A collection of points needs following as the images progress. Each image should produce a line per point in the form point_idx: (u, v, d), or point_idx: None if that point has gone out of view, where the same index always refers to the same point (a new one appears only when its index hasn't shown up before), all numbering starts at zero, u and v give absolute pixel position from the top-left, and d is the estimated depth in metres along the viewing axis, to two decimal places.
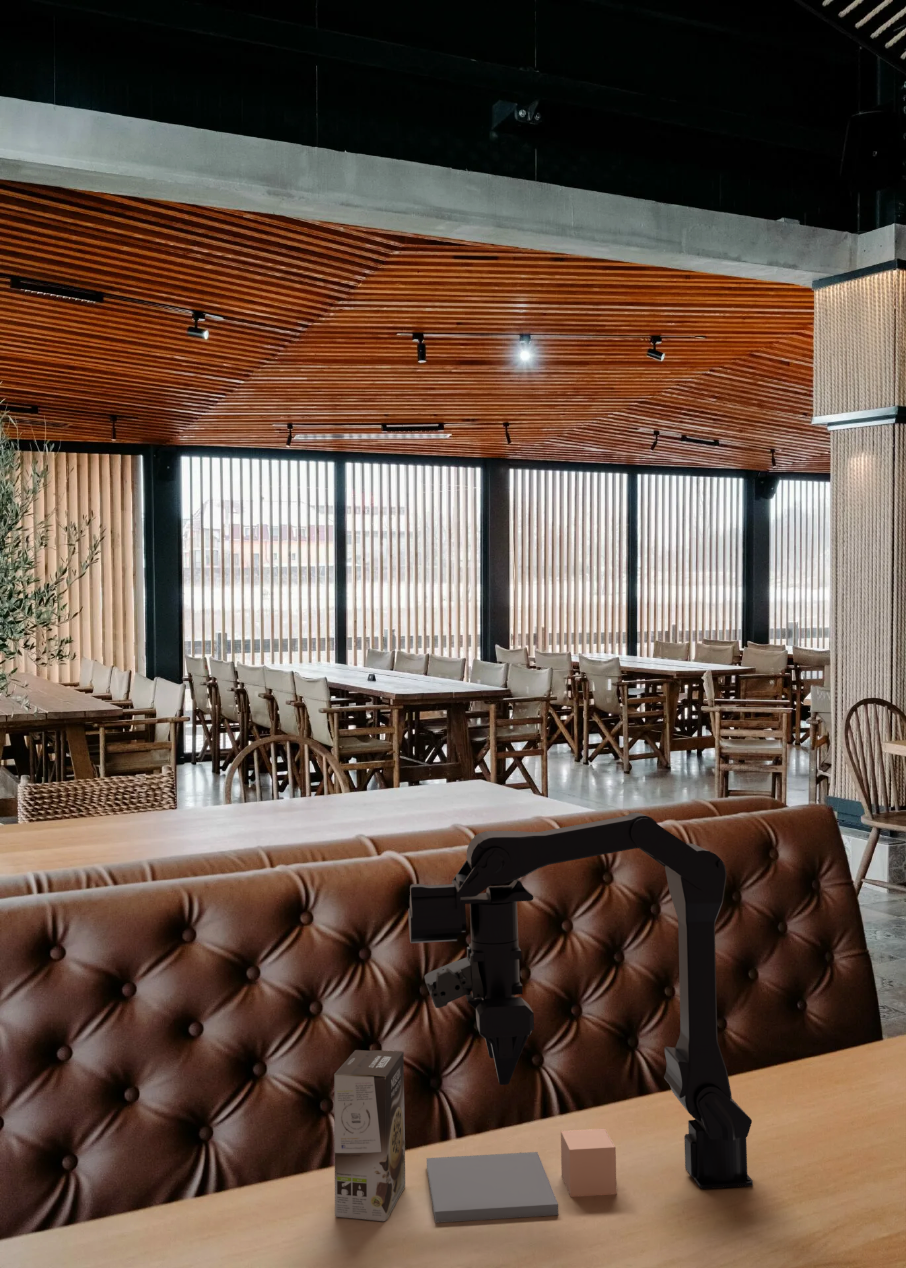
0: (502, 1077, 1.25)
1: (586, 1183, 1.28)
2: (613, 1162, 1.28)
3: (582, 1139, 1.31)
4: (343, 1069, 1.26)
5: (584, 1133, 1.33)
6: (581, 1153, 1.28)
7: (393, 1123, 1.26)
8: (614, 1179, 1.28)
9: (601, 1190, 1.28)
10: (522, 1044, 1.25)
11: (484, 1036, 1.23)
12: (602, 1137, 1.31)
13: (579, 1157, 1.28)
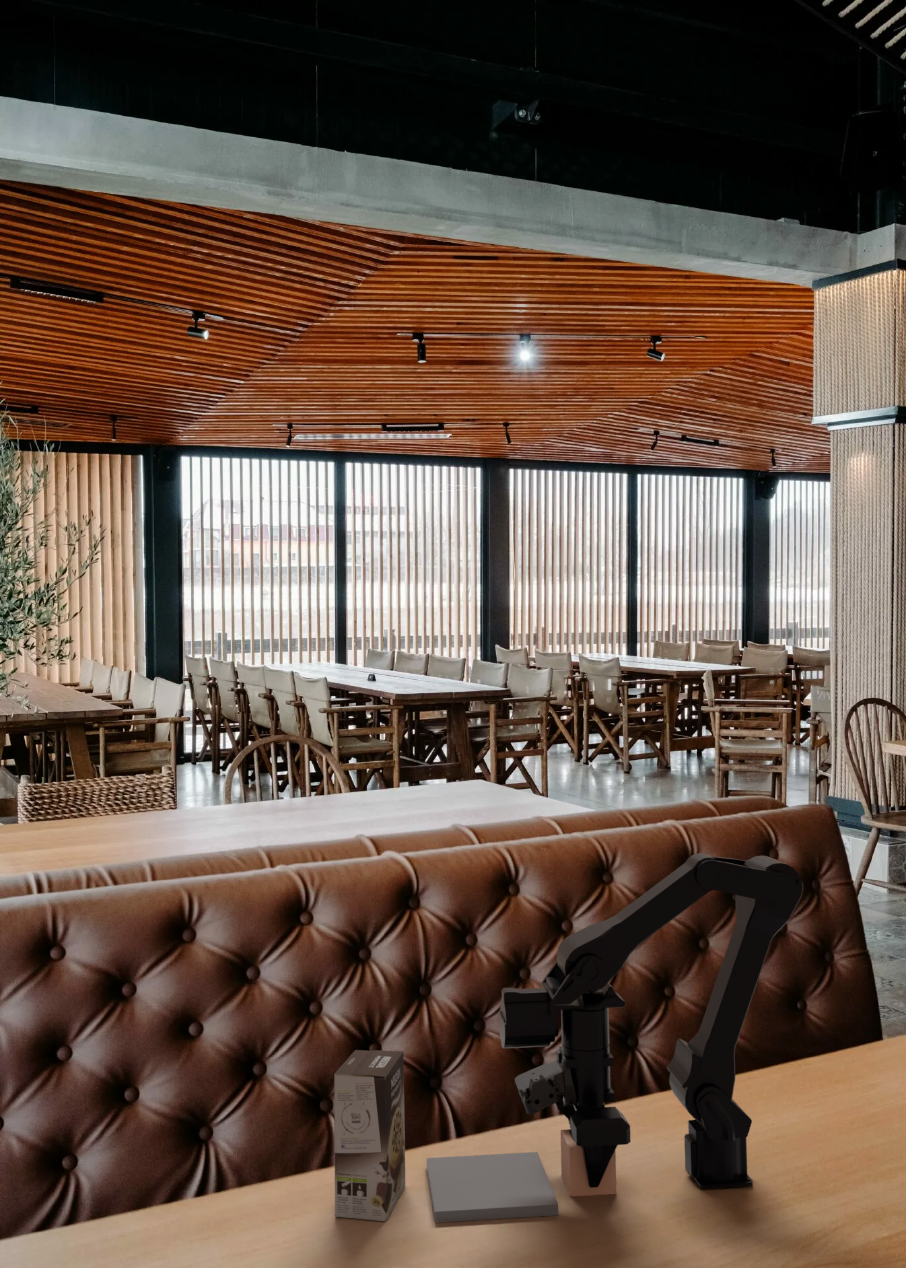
0: (592, 1180, 1.27)
1: (586, 1182, 1.28)
2: (613, 1161, 1.28)
3: None
4: (343, 1069, 1.26)
5: None
6: (581, 1152, 1.28)
7: (393, 1123, 1.26)
8: (614, 1178, 1.28)
9: (601, 1189, 1.28)
10: (613, 1148, 1.27)
11: None
12: None
13: (579, 1156, 1.28)
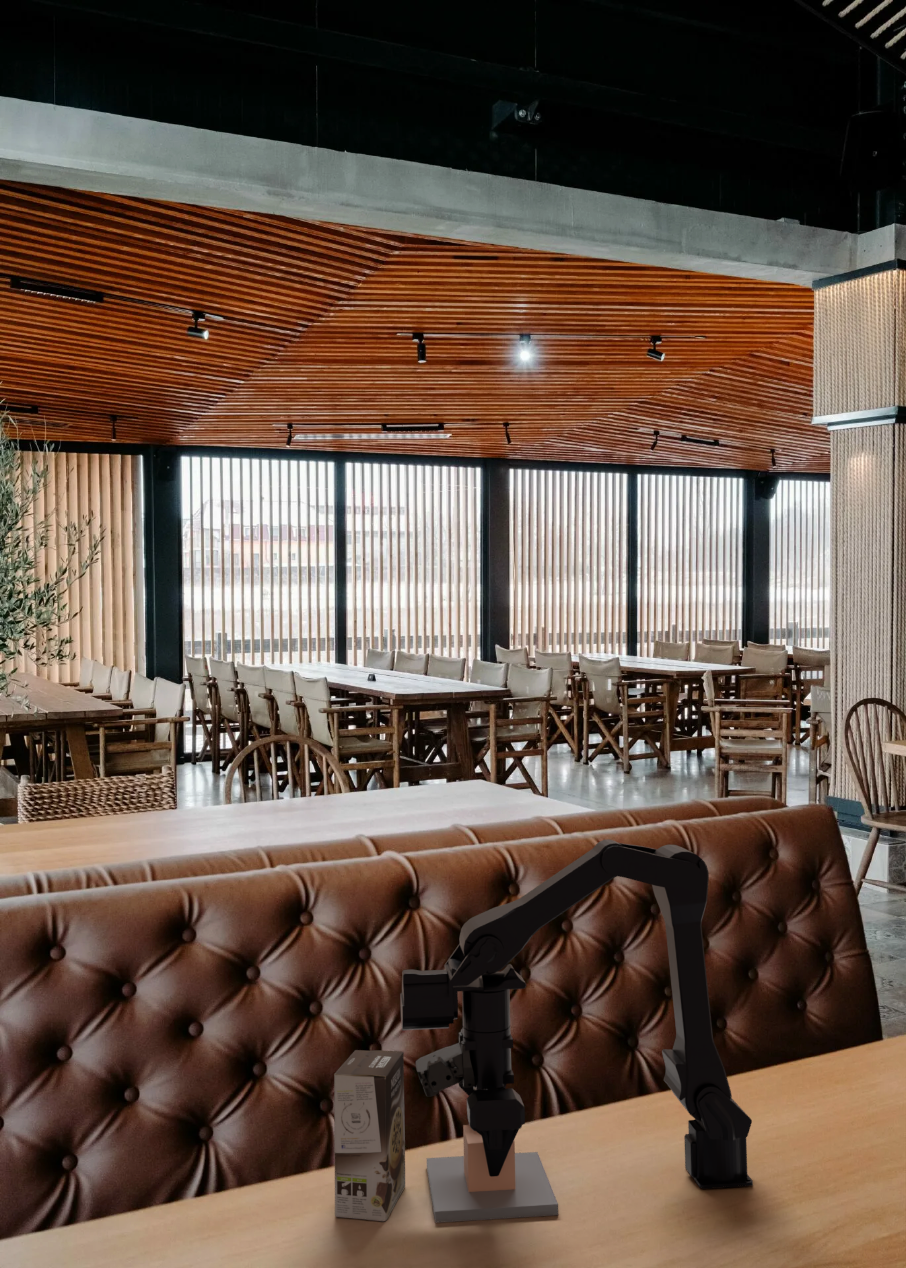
0: (492, 1169, 1.25)
1: (485, 1177, 1.27)
2: (512, 1156, 1.27)
3: None
4: (343, 1069, 1.26)
5: None
6: (479, 1147, 1.27)
7: (393, 1123, 1.26)
8: (513, 1173, 1.27)
9: (499, 1185, 1.27)
10: (513, 1136, 1.24)
11: (474, 1129, 1.22)
12: None
13: (478, 1151, 1.27)
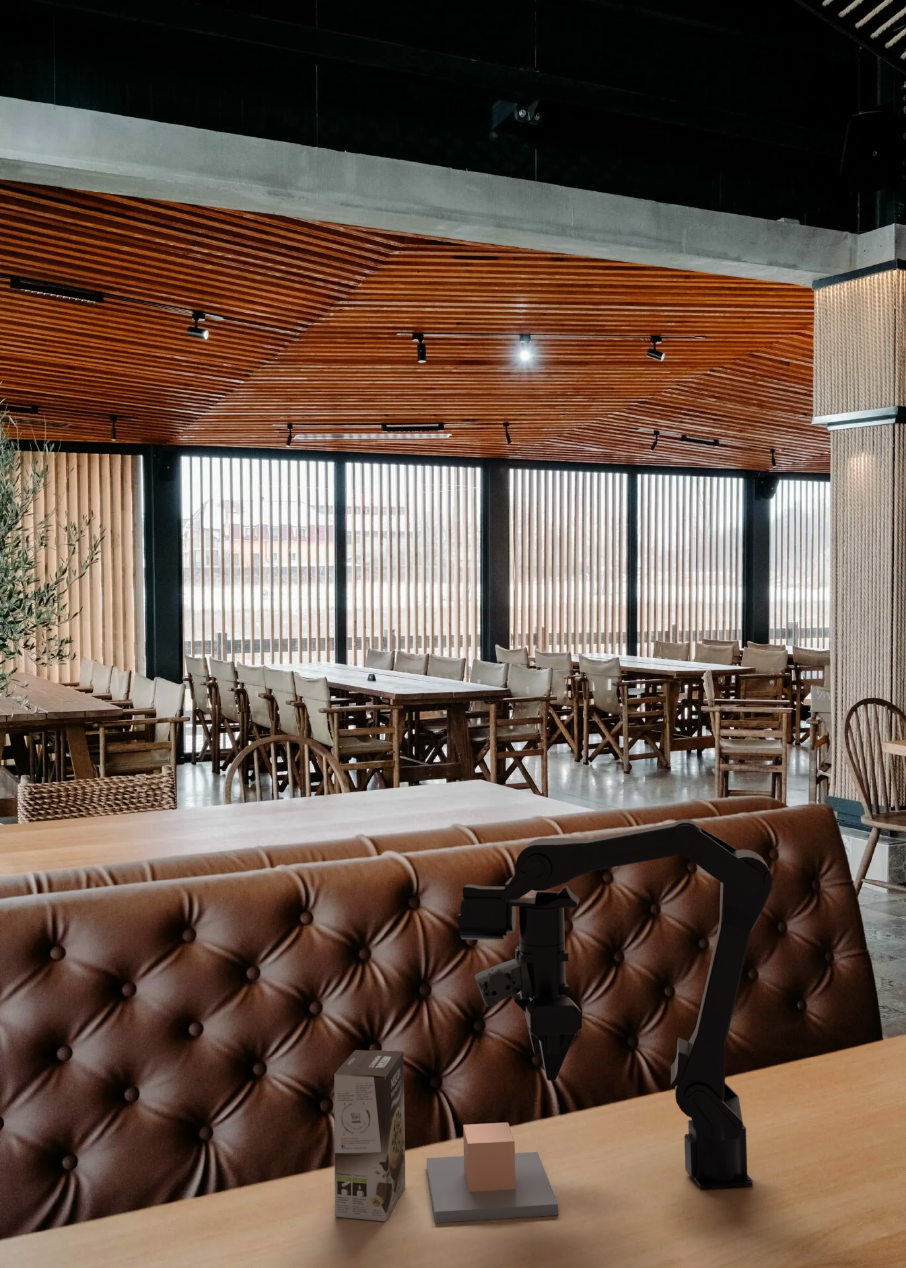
0: (550, 1073, 1.32)
1: (485, 1177, 1.27)
2: (512, 1156, 1.27)
3: (483, 1133, 1.30)
4: (343, 1069, 1.26)
5: (486, 1127, 1.32)
6: (479, 1147, 1.27)
7: (393, 1123, 1.26)
8: (513, 1173, 1.27)
9: (499, 1185, 1.27)
10: (569, 1042, 1.31)
11: (534, 1034, 1.29)
12: (503, 1131, 1.30)
13: (478, 1151, 1.27)
